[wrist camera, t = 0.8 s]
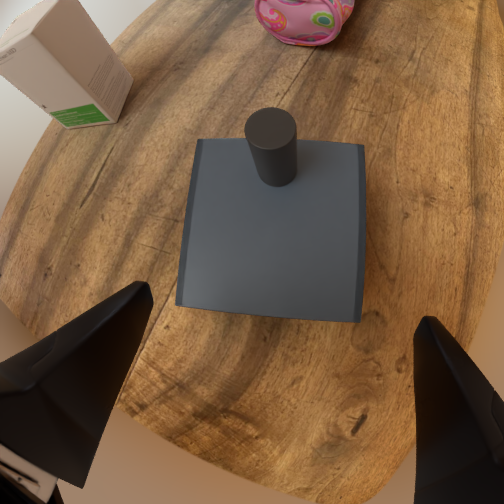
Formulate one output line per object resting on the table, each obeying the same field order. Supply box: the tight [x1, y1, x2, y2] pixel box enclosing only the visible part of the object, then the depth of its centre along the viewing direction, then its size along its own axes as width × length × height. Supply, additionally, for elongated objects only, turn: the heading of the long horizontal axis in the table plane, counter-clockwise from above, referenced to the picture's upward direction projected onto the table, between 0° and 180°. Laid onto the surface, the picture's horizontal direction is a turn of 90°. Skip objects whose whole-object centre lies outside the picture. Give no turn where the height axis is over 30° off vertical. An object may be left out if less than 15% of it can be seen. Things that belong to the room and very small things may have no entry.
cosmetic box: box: [0, 0, 134, 129], centre depth 20 cm, size 8×7×16 cm
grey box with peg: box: [175, 107, 366, 323], centre depth 17 cm, size 12×10×10 cm
